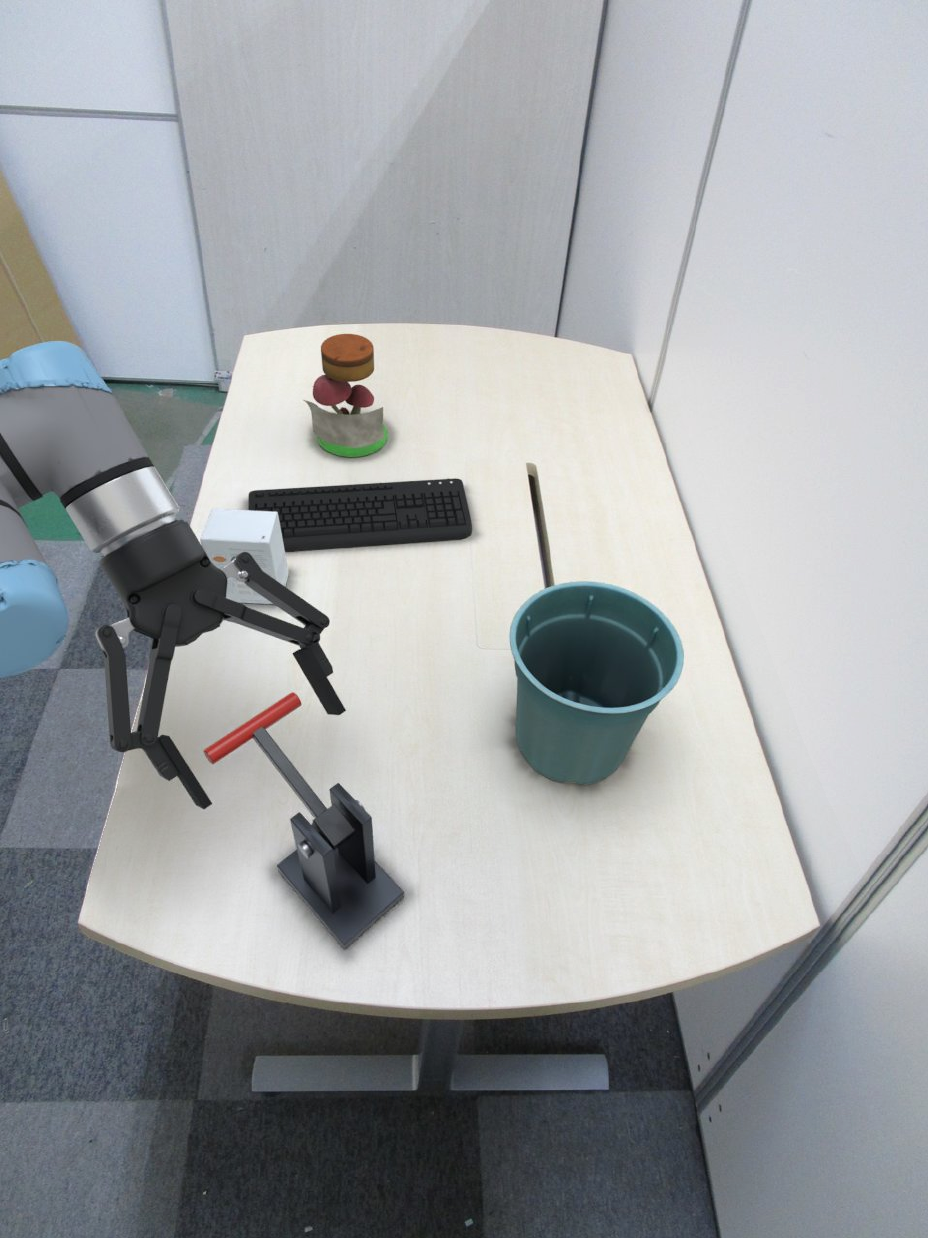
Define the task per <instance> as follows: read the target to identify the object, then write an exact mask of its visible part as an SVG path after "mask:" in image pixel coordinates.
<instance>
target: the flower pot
mask: <svg viewBox="0 0 928 1238" xmlns="http://www.w3.org/2000/svg"><path fill="white" fill-rule="evenodd" d="M509 627H510V628H509V635H508V636H509V647H510V651H511V654H512V658H513V660H514V661H513V662H514V671H515V676H516V684H517V685H516V709H515V711H516V712H515V713H516V714H515V739H516V743H517V746H518V749H519V751H520V753H521V755H522V757H523V758H524V759H525V760H526V762H527V763H528V764H529V765H530V766H531V767H532V768H533V769H534V770H535V771H536V772H538V773H539V774H541V775H543V776H544V777H546V778H547V779H550V780H552V781H555V782H558V783H560V784H564V783H572V784H579V785H581V786H584V785H591V784H594V783H595V784H596V783H598V782H600V781H603V780H604V779H607V778H609V776H611V775H612V774H613V773H616V771H617V770H618V769H619V768H620V766H621V765H622V763H623V762H624V760H625V758H626V756H627V754H628V752H630V749H631V747H632V745H633V744H634V742H635V740H636V739H637V736H638V735H639V733H640V731H641V729H642V728H643V726H644V725H645V722H646V721H647V719H648V717H649V715H650V714H651V713H652V712H654V710H655V709H656V708H657V707H658V706H659V704H660V702H661V701H662V700H663V699H664V698H665V697H666V696H667V695H668V694H670V692H671V691H672V690H673V689H674V688H675V686H676V685H677V684H678V682H679V679H680V678H681V675H682V672H683V668H684V663H685V662H684V661H685V652H684V647H683V642H682V638H681V637H680V634H679V632H678V630H677V629H676V627H675V626H674V625H673V623H672V622H671V620H670V618H668V617H667V615H666V614H665V613H664V612H663V611H661V609H659V608H658V607H657V606H656V605H655V604H653V603H652V602H651V601H649V600H648V599H646V598H644V597H643V596H641V595H639V594H638V593H636V592H634V591H632V590H629V589H627V588H625V587H621V586H618V585H613V584H611V583H605V582H600V581H590V580H589V581H588V580H578V581H569V582H563V583H559V584H555V585H551V586H548V587H545V588H544V589H541V590H539V591H538V592H536V593H534V594H533V595H531V596H530V597H529V598H527V599H526V601H524V603H523V604H521V605H520V607H518V609H517V611H516V612H515V614H514V617H513V618H512V621H511V624H510V626H509Z"/></svg>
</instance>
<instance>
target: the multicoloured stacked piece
mask: <svg viewBox="0 0 928 1238" xmlns="http://www.w3.org/2000/svg"><path fill="white" fill-rule="evenodd" d="M374 348H375V347H374V345H373V341H371V340H370V339H368V338H367V337H365V336H363V335H359V334H356V333H340V334H334V335H332V336H330V337H327V338H326V339H325V340H323V342H322V343H321V345H320V356H321V357H320V358H321V367H322V372H323V374H322V375H320V376H318V377H317V378H316V379H315V381H314V383H313V385H312V397H313V400H314V401H315V402H316V403H317V404H319V405H322V406H326V407H330V408H332V410H333V411H334V412H332V411H328V410H326V409H323V408H321V407H319V405H317V404H316V403H314V402H312V401H309V400H306V399H302V402H303V401H304V402H305V403H306V404H307V405H308V407H309V411H310V413H311V422H312V432H313V433H314V435H316V437H317V441H318V444H319V445H320V446H321V447H322V448H323V449H324V450H325V451H326V452H328V453H330V454H333V455H336V456H339V457H346V458H359V457H366V456H368V455H372V454H374V453H376V452H377V451H379V450H381V449H382V448H383V447H384V446H385V445H386V443H387V441H388V430H387V427H386V426H385V424H384V406H381V407H379V408H377V409H375V410H371V411H368V412H363V413H361V411H362V410H361V409H366V408H369V407H372V405H374V403H375V396H374V395H373V393H372V391H370V389H369V388H368V387H366V386H365V385H363V384H355V385H353V386H352V385H351V384H350V383H355V382H360V381H363V380H365V379H368V378H369V377H370V376H372V375H373V374H374V371H375V350H374ZM344 402H345V403H346V404H347V405H349V406H352V409H351V411H349V409H348V408H347V407H344V406H342V407H340V409H339V407H338V406H337V405H339V404H342V403H344Z"/></svg>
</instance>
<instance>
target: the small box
mask: <svg viewBox="0 0 928 1238" xmlns="http://www.w3.org/2000/svg"><path fill="white" fill-rule="evenodd" d="M199 542H200V544H201V545H202V547H203V549H204V551H205V552H206V554H207V556H208V558H209V559H210V561H211V562H212V564H213V565H215V566H216V567H217V568H219V569H220V568H222V567H223V566H225V565H226V564H228V563H229V562H230V561H231V559H232V558H233V557H234V556H236V555H238V554H240V553H242V552H248V553H250V554H251V556H252V557H253V558H254V560H255V561H256V562H257V564H258V565H259V567H260V568H261V569H262V571H263V572H265V573H266V574H268V575H269V576H271V577H272V578H273V579H275V580H276V581H278V582H279V583H281V584H282V585H283V586H285V587H286V585H287V582H288V578H289V573H290V572H289V566H288V562H287V561H288V560H287V556H286V552H285V550H284V544H283V539H282V533H281V527H280V522H279V516H278V512H271V511H251V510H248V509H230V508H229V509H228V508H215V507H214V508H212V509H211V510H210V513H209V516H208V517H207V520H206V522H205V525H204V528H203V531H202V533H201V536H200V539H199ZM226 598H227V599H230V600H233V601H235V602H238V603H241V604H259V605H260V604H261V605H274V604H273V603H271V602H270V601H269V600H267V599H266V598H264V597H263V596H261V595H260V594H258V593H257V592H255V591H254V590H252V589H251V588H250V587H248V586H247V585H246V584H245V583H244V582H243V583H237V582H235V581H234V580H233V579H227V593H226Z"/></svg>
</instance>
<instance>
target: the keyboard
mask: <svg viewBox="0 0 928 1238" xmlns="http://www.w3.org/2000/svg"><path fill="white" fill-rule="evenodd" d="M247 507H248V509H247V510H251V511H271V512H278V516H279V522H280V527H281V533H282V539H283V544H284V550H285V553H289V552H291V553H292V552H303V551H304V552H305V551H317V550H318V551H319V550H332V549H333V550H334V549H347V548H361V547H376V546H388V545H390V546H391V545H400V544H401V545H403V544H417V543H432V542H443V541H444V542H445V541H458V540H463V539H467V538H469V537H470V536H472V532H473V523H472V522H473V521H472V518H471V517H472V516H471V513H470V508H469V504H468V499H467V496H466V490H465V486H464V482H463V480H462V479H460V478H440V479H438V478H437V479H424V480H421V479H420V480H406V481H389V482H374V483H372V482H371V483H355V484H338V485H321V486H306V487H288V488H270V489H255V490H251V491H249V492H248V506H247Z"/></svg>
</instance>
